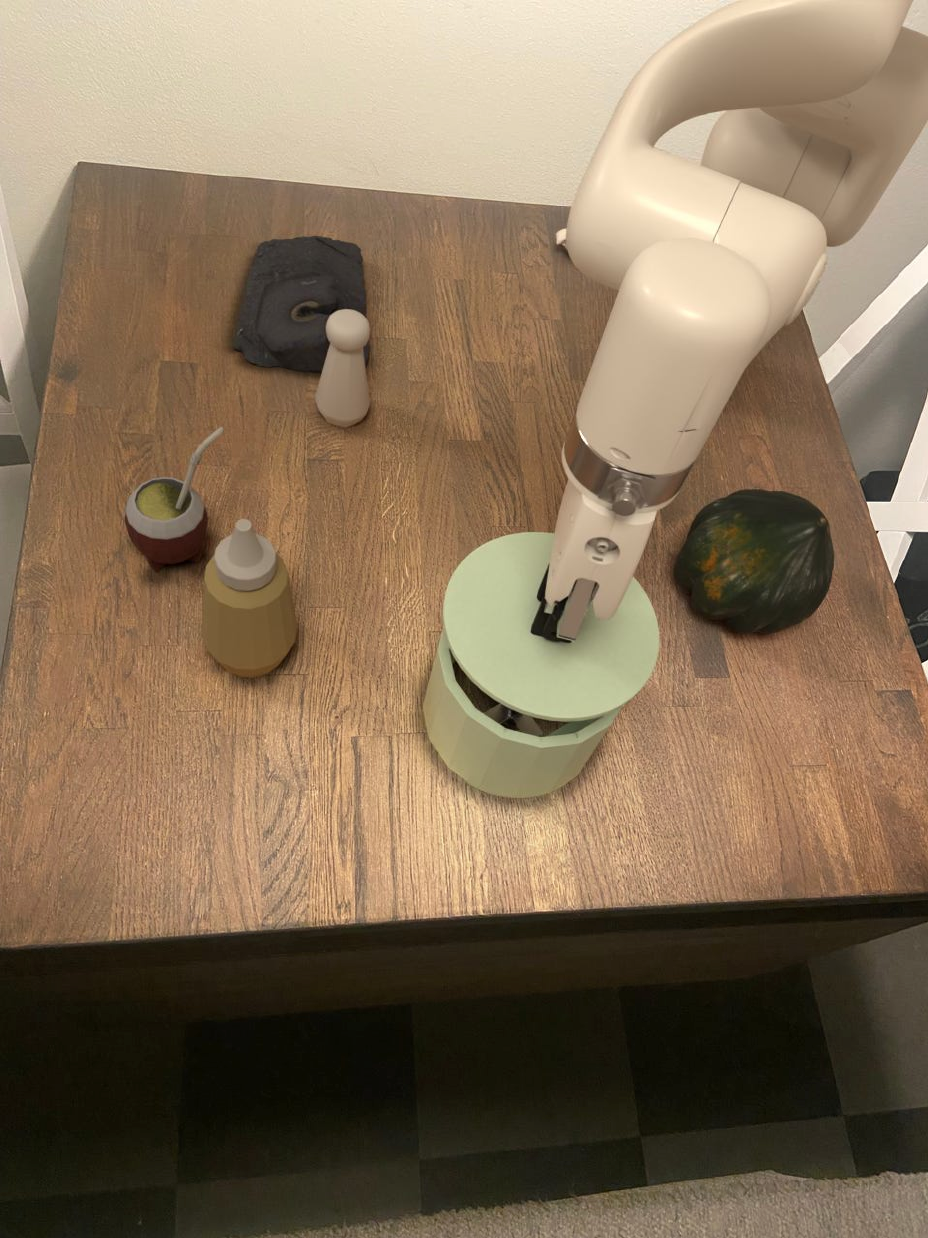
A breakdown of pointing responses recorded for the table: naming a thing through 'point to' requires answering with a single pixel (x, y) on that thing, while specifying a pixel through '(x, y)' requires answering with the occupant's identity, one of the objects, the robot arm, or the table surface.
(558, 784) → the green cylindrical sleeve
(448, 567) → the table surface
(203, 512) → the mate gourd
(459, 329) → the table surface
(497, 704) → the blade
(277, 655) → the squeeze bottle
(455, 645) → the lid
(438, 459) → the table surface
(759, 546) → the squash
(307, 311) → the dark slate chunk
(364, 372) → the salt shaker
